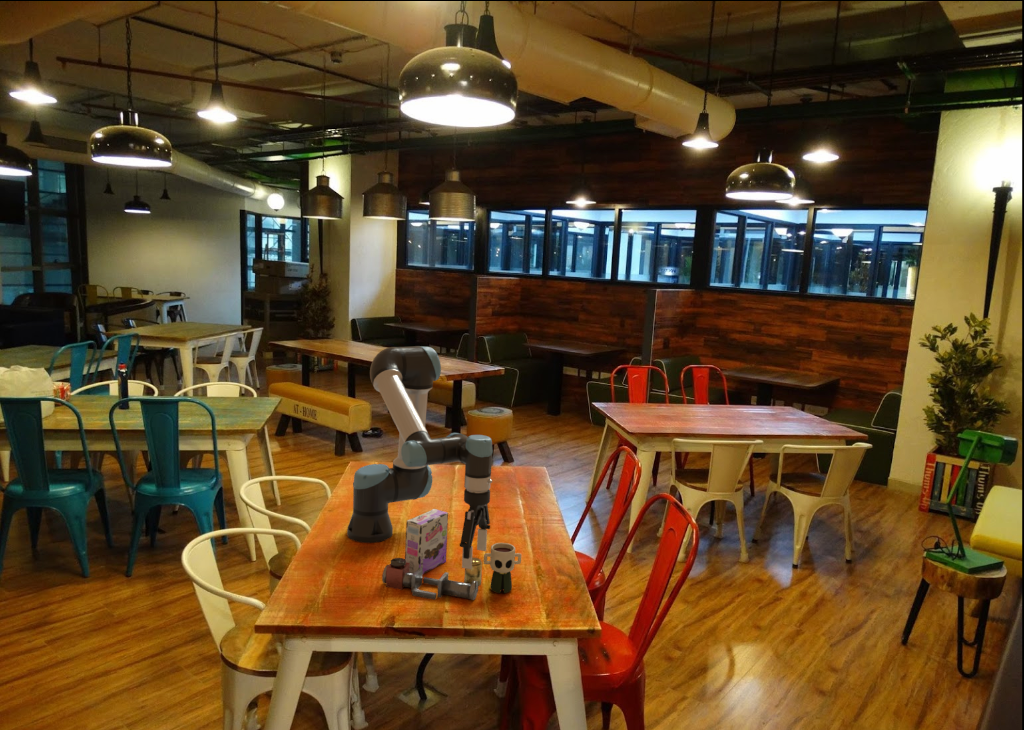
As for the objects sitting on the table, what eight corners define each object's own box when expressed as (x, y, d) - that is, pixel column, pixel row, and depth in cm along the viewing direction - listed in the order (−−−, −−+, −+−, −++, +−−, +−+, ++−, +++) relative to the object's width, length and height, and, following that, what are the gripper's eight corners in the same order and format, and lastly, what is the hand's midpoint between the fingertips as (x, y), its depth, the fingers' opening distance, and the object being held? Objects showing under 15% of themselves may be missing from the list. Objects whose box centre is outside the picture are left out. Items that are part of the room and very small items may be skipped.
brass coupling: (461, 585, 205) (462, 562, 204) (467, 578, 210) (468, 556, 209) (478, 588, 204) (479, 565, 202) (483, 581, 208) (484, 558, 207)
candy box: (418, 577, 208) (420, 524, 206) (403, 571, 211) (405, 520, 209) (446, 561, 220) (449, 511, 217) (432, 556, 223) (434, 507, 221)
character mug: (483, 596, 199) (485, 552, 197) (481, 584, 206) (483, 542, 204) (521, 595, 201) (523, 552, 199) (517, 584, 207) (520, 542, 206)
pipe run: (379, 589, 200) (379, 565, 199) (392, 575, 208) (393, 553, 207) (469, 606, 193) (470, 581, 192) (479, 591, 201) (481, 568, 200)
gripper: (476, 504, 189) (473, 578, 192) (501, 478, 213) (498, 544, 216) (450, 500, 191) (447, 574, 194) (478, 475, 215) (475, 541, 218)
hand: (474, 558), depth 205 cm, fingers open, 13 cm apart
